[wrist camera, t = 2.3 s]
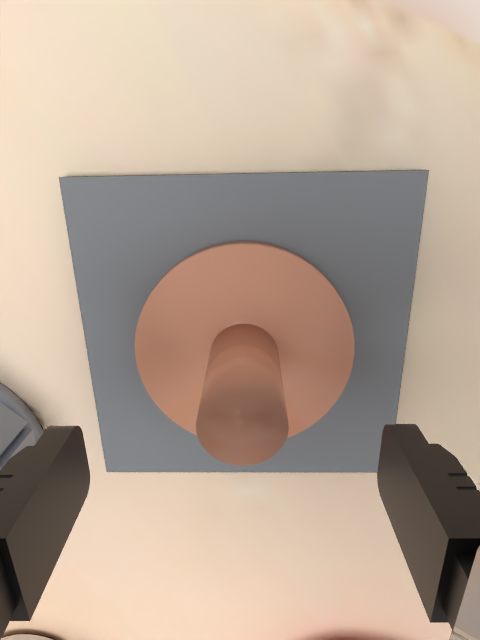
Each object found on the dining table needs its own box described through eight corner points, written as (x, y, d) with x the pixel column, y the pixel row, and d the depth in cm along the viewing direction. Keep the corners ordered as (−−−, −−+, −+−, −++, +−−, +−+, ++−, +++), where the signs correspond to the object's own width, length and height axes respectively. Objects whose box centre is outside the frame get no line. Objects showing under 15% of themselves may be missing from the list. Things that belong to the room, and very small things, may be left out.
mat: (422, 169, 17) (429, 170, 16) (385, 464, 22) (389, 472, 21) (65, 176, 17) (58, 177, 16) (110, 463, 22) (106, 471, 21)
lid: (355, 237, 17) (410, 281, 11) (342, 428, 20) (379, 539, 14) (129, 243, 17) (68, 288, 11) (152, 430, 20) (114, 539, 15)
